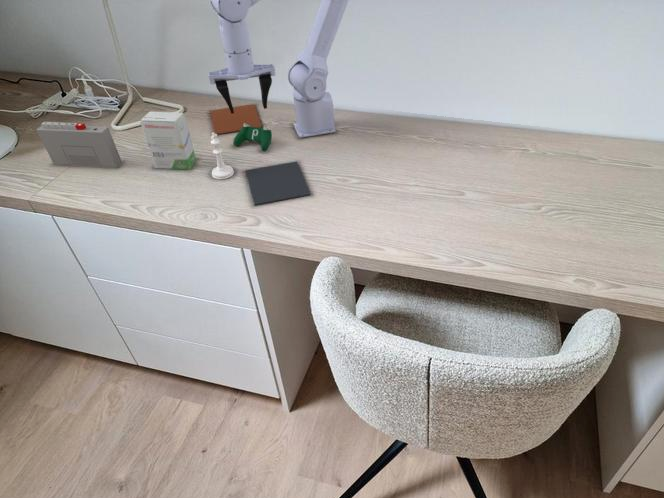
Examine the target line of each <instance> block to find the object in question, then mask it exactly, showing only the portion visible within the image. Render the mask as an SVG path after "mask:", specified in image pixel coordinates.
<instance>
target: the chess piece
mask: <svg viewBox="0 0 664 498" xmlns="http://www.w3.org/2000/svg"><path fill="white" fill-rule="evenodd" d="M217 137H218V135H217V134H215V132H211V136H210V145H211V146H212V148H213V150H212V154H214V155H215V156H216V167H214V168H213V169H212V170H211V176H212V178H214V179H216V180H226V179H228V178H231V177H232V176H234V173H235V171H234V168H233V166H231V165H227V164H225V162H224V160H223V159H224V158H223V157H222V153H223V152H224V151H223V149H222V148H220V146H221V140H220V139H218V138H217Z"/></svg>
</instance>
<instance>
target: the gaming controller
mask: <svg viewBox="0 0 664 498" xmlns="http://www.w3.org/2000/svg"><path fill="white" fill-rule="evenodd" d="M272 133H273V132H272V130H271V129H270V128H269V127H267V126H266V125H265V126H263V127H262V128H260V127H251V126H249V125H248V124H245V123H244V126H243V127H242V129H241V130H240V131H239V132H237V133H236V135H235V137H233V142H232V144H233V146H234V147H241V145H243V144H244V143H246V141H247V142H248V143H249V142H250V143H252V142H253V143H258V144H259V145H260V148H261V151H263V152H266V151H267V150H268V149H269V147H270V145H271V143H272V139H273V138H272V137H273V134H272Z"/></svg>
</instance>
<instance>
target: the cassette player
mask: <svg viewBox="0 0 664 498" xmlns="http://www.w3.org/2000/svg"><path fill="white" fill-rule="evenodd" d="M35 131H36V132H37V135H38V136H39V138H40V140H41V142H42V144H43V146H44V148H45V150H46V152H47V154H48V155H49V158H50V159H51V162H52V164H53V166H65V167H66V166H68V167H70V166H71V167H88V168H106V169H118V168H119V166H120V165H121V164H122V163H123V161H122V158H121V156H120V153H119V151H118V148H117V146H116V143H115V141H114V139H113V135H112V134H111V131H110V128H109V126H95V125H86V123H83V122H82V123H79V122H59V121H58V122H57V121H43V122H42V123H41V124H40V126H39V127H37V129H36V130H35Z"/></svg>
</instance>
